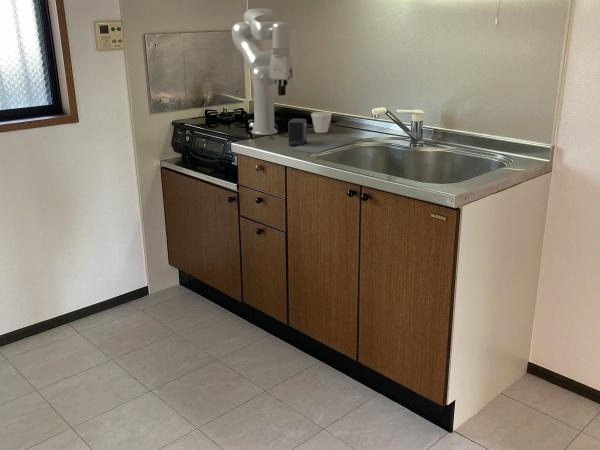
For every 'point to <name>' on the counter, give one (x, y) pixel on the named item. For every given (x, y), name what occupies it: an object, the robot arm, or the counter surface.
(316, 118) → the cup
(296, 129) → the small box
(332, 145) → the mat
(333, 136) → the counter surface
